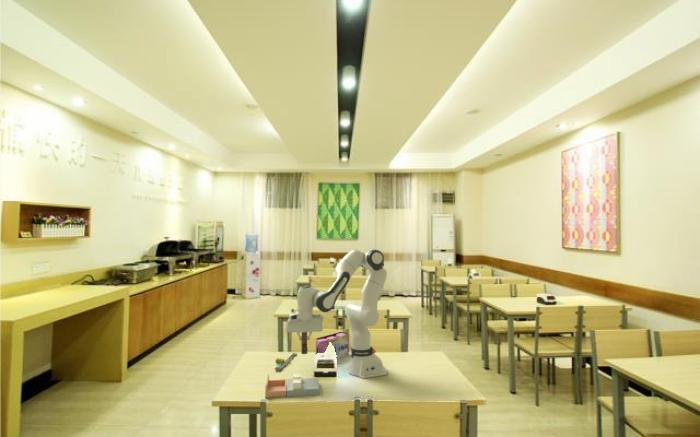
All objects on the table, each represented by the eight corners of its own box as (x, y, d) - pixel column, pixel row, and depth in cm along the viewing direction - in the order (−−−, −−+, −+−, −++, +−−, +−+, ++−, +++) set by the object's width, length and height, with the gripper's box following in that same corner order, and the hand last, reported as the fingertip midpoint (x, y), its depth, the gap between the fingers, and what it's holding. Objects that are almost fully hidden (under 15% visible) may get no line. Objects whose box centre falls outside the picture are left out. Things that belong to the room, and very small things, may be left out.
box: (286, 384, 181) (286, 373, 181) (286, 396, 168) (286, 384, 169) (267, 385, 180) (267, 374, 180) (265, 398, 167) (265, 385, 167)
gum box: (321, 364, 211) (321, 341, 211) (313, 360, 216) (313, 338, 217) (349, 354, 227) (349, 334, 228) (340, 351, 233) (341, 331, 234)
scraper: (306, 342, 200) (306, 328, 201) (307, 353, 182) (307, 337, 183) (301, 343, 200) (301, 328, 200) (301, 354, 182) (301, 338, 182)
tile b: (300, 385, 175) (301, 379, 175) (301, 388, 171) (301, 382, 171) (292, 385, 174) (293, 379, 174) (292, 389, 170) (293, 383, 170)
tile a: (300, 379, 181) (300, 373, 182) (300, 382, 178) (300, 376, 178) (293, 379, 181) (293, 373, 181) (293, 383, 177) (293, 377, 177)
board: (317, 383, 184) (317, 377, 184) (319, 394, 171) (319, 388, 171) (287, 384, 181) (287, 379, 181) (286, 396, 168) (286, 390, 169)
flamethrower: (267, 370, 199) (283, 373, 197) (267, 366, 199) (283, 368, 197) (285, 354, 227) (299, 356, 226) (285, 350, 228) (299, 352, 226)
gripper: (322, 312, 196) (322, 337, 196) (286, 313, 193) (286, 338, 193) (323, 315, 190) (323, 340, 190) (286, 316, 187) (285, 342, 187)
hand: (304, 339), depth 191 cm, fingers closed on scraper, 3 cm apart
